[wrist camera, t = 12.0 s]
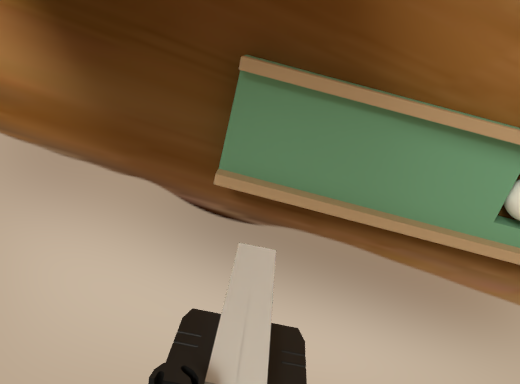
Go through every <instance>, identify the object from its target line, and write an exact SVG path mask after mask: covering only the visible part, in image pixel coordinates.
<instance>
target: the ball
mask: <svg viewBox="0 0 520 384" xmlns="http://www.w3.org/2000/svg"><path fill="white" fill-rule="evenodd" d="M504 206H505V209H506V210H507V212H508V213H509V214H510V215H511V216H512V217H513V218H515V219H517V220H519V221H520V179H519V180H517V181H515V183H514V185H513V187H512V189H511V191H510V193H509V195H508V196H507V198H506V200H505V202H504Z"/></svg>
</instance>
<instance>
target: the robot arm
mask: <svg viewBox="0 0 520 384" xmlns="http://www.w3.org/2000/svg"><path fill="white" fill-rule="evenodd" d="M275 260H276V250H274V249H269V248H264V247H259V246H254V245H249V244H244V243H239V244H238V248H237V252H236V256H235V260H234V265H233V269H232V273H231V277H230V281H229V285H228V289H227V293H226V297H225V301H224V305H223V310H222V314H218V313H213V312H208V311H203V310H198V309H192V310H190V311H189V312H188V313H187V314H186V315H185V316H184V317H183V318H182V321H181V324H180V326H179V329H178V332H177V334H176V337H175V339H174V343H173V345H172V348H171V350H170V353H169V355H168V358H167V361H166V363H163V364H161V365H160V366H159V367H157V368H156V369H154V371H153V372H152V374H151V375H150V377H149V384H306V368H305V367H306V360H305V341H304V339H303V337H302V335H301V333H300V331H299V329H298V328H294V327H289V326H284V325H279V324H273V323H271V317H272V303H273V288H274V274H275Z"/></svg>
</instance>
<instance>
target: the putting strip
mask: <svg viewBox="0 0 520 384" xmlns="http://www.w3.org/2000/svg"><path fill="white" fill-rule="evenodd" d="M239 70H240V74H239V78H238V83H237V88H236V92H235V97H234V101H233V106H232V110H231V115H230V119H229V124H228V128H227V133H226V137H225V142H224V146H223V151H222V156H221V160H220V165H219V169H218V170H217V172H216V174H215V179H214V183H213V184H215V185H219V186H222V187H226V188H230V189H234V190H238V191H241V192H245V193H249V194H253V195H257V196H260V197H264V198H268V199H272V200H275V201H279V202H283V203H287V204H291V205H294V206H298V207H302V208H306V209H310V210H313V211H317V212H321V213H325V214H329V215H332V216H336V217H340V218H344V219H348V220H351V221H355V222H359V223H363V224H367V225H370V226H374V227H378V228H382V229H386V230H389V231H393V232H397V233H401V234H405V235H408V236H412V237H416V238H420V239H424V240H427V241H431V242H435V243H439V244H443V245H446V246H450V247H454V248H458V249H462V250H465V251H469V252H473V253H477V254H481V255H484V256H488V257H492V258H496V259H499V260H503V261H507V262H511V263H515V264H518V265H520V221H517V220H513V219H510V218H506V217H502V216H498V213H499V211H500V210H501V208H502V206H503V204H504V202H505V200H506V198H507V196H508V195H509V193H510V191H511V189H512V187H513V185H514V183H515V181H516V180H517V178H518V176H519V174H520V128H518V127H515V126H511V125H507V124H503V123H500V122H496V121H492V120H489V119H485V118H481V117H477V116H474V115H470V114H466V113H463V112H459V111H455V110H451V109H448V108H444V107H440V106H436V105H433V104H429V103H425V102H422V101H418V100H414V99H410V98H407V97H403V96H399V95H395V94H392V93H388V92H384V91H381V90H377V89H373V88H369V87H366V86H362V85H358V84H355V83H351V82H347V81H343V80H340V79H336V78H332V77H328V76H325V75H321V74H317V73H314V72H310V71H306V70H302V69H299V68H295V67H291V66H288V65H284V64H280V63H276V62H273V61H269V60H265V59H261V58H258V57H254V56H250V55H244V56H241V60H240V64H239Z"/></svg>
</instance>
